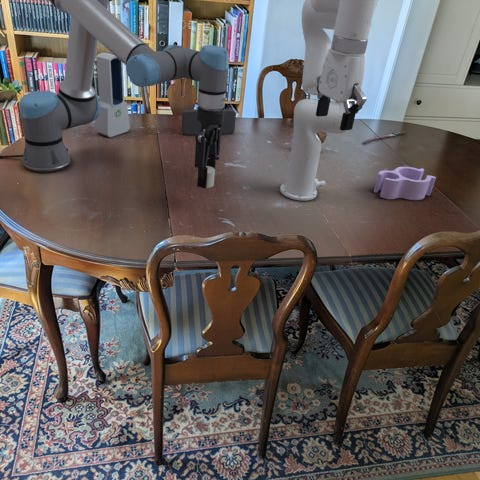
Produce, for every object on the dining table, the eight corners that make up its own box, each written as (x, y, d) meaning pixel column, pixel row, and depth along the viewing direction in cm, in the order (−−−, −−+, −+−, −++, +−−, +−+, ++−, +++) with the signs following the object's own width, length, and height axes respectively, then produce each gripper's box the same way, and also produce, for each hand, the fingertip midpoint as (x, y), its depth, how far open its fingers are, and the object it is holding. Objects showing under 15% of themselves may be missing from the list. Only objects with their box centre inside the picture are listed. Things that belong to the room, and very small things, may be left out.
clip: (387, 202, 158) (392, 184, 155) (367, 186, 168) (372, 168, 164) (434, 198, 165) (441, 180, 161) (413, 182, 174) (419, 165, 171)
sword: (401, 132, 223) (402, 129, 222) (407, 134, 221) (407, 131, 220) (358, 143, 207) (358, 140, 206) (363, 145, 205) (364, 143, 204)
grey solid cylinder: (209, 179, 143) (211, 164, 141) (216, 186, 140) (217, 172, 137) (194, 181, 141) (195, 166, 139) (200, 188, 138) (201, 173, 135)
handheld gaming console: (232, 131, 203) (234, 108, 197) (234, 133, 201) (236, 110, 195) (181, 132, 196) (181, 109, 190) (182, 135, 194) (183, 111, 188)
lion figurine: (320, 147, 197) (324, 126, 192) (326, 152, 192) (331, 131, 188) (289, 148, 192) (292, 127, 187) (294, 153, 188) (298, 132, 183)
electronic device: (108, 138, 183) (103, 58, 167) (94, 133, 186) (88, 54, 170) (130, 130, 192) (127, 54, 176) (117, 126, 195) (113, 50, 179)
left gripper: (209, 119, 120) (204, 198, 132) (235, 101, 134) (228, 175, 147) (183, 112, 121) (180, 192, 134) (211, 96, 136) (206, 169, 149)
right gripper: (312, 37, 106) (300, 111, 115) (360, 55, 93) (342, 137, 103) (338, 38, 109) (324, 110, 118) (388, 55, 96) (369, 134, 106)
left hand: (205, 183), depth 140 cm, fingers closed on grey solid cylinder, 5 cm apart
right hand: (333, 122), depth 110 cm, fingers open, 9 cm apart
